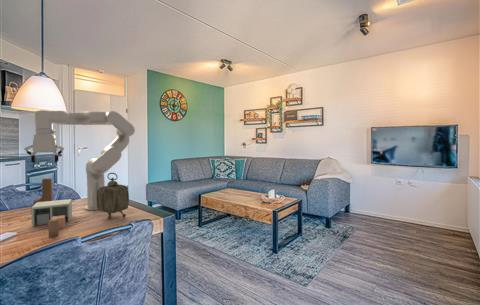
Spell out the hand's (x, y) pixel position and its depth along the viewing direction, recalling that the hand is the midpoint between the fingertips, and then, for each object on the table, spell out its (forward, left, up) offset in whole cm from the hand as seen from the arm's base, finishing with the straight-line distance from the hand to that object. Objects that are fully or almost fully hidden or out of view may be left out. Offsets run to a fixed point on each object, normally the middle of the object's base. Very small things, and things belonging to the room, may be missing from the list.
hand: (45, 162), depth 134 cm
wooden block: (+6, -28, -31) cm, 42 cm away
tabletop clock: (-32, +22, -31) cm, 49 cm away
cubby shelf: (-4, +12, -30) cm, 33 cm away
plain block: (-1, +13, -30) cm, 33 cm away
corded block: (-8, +31, -30) cm, 44 cm away
